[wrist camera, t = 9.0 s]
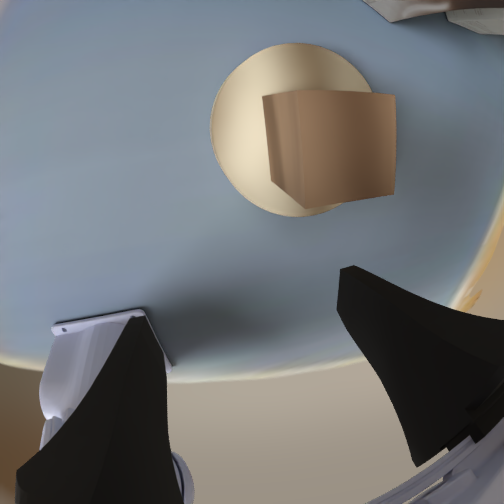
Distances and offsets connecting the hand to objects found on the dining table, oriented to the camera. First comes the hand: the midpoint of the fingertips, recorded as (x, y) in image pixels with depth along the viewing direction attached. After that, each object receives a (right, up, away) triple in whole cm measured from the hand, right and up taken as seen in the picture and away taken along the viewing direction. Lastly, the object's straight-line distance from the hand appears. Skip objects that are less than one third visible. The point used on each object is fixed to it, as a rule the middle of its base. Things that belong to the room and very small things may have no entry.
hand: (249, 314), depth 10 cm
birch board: (+3, +10, +7) cm, 13 cm away
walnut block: (+3, +9, +5) cm, 11 cm away
